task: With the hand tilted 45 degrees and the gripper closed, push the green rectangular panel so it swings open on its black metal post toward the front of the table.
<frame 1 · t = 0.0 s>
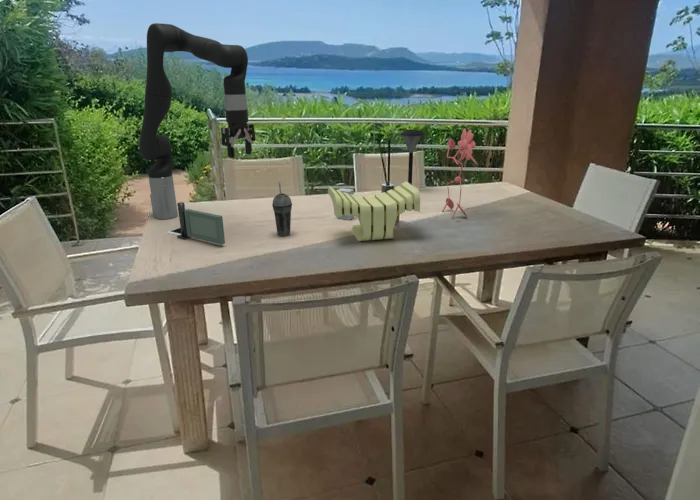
hand: (240, 155, 172), 29 cm above the table, tool pointing down, fingers open, 8 cm apart
gate post: (185, 237, 180), on the table
figurine: (461, 214, 206), on the table
solar garden light: (409, 193, 238), on the table
slatted curved stool: (372, 235, 181), on the table
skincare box: (345, 218, 201), on the table
beverage cup: (283, 234, 183), on the table
green rectangular panel: (204, 226, 173), point 6 cm above the table, hinge at 0.0°
cell phone: (190, 230, 190), on the table
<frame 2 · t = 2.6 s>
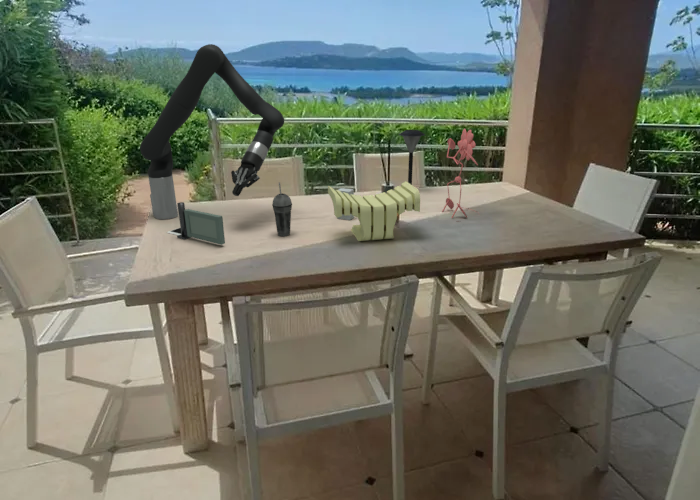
hand: (235, 194, 181), 14 cm above the table, tool tilted 45°, fingers closed
nothing on the table moved.
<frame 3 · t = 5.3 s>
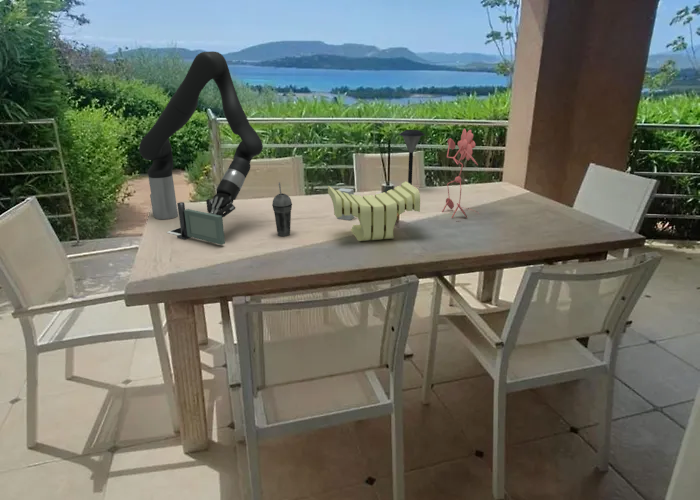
hand: (209, 225, 173), 6 cm above the table, tool tilted 45°, fingers closed
green rectangular panel: (204, 226, 173), point 6 cm above the table, hinge at 0.2°, touching gripper
everything else where it was.
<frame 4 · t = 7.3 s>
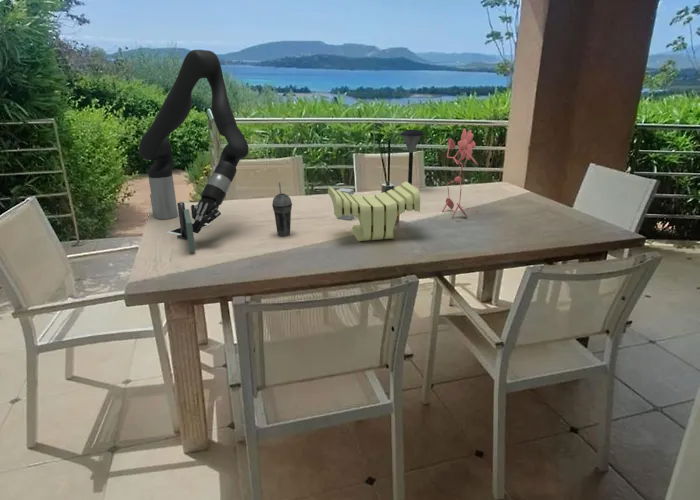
hand: (194, 232, 167), 6 cm above the table, tool tilted 45°, fingers closed
green rectangular panel: (189, 229, 169), point 6 cm above the table, hinge at 37.9°, touching gripper
everything else where it was.
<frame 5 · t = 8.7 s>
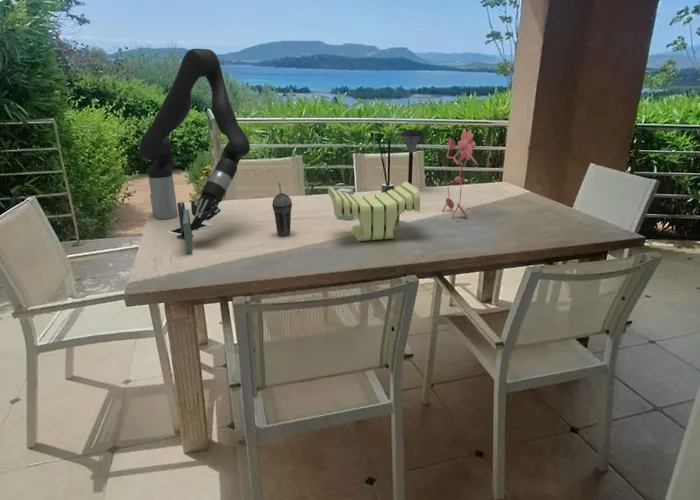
hand: (194, 228, 167), 7 cm above the table, tool tilted 45°, fingers closed
green rectangular panel: (187, 229, 169), point 6 cm above the table, hinge at 41.5°
everything else where it was.
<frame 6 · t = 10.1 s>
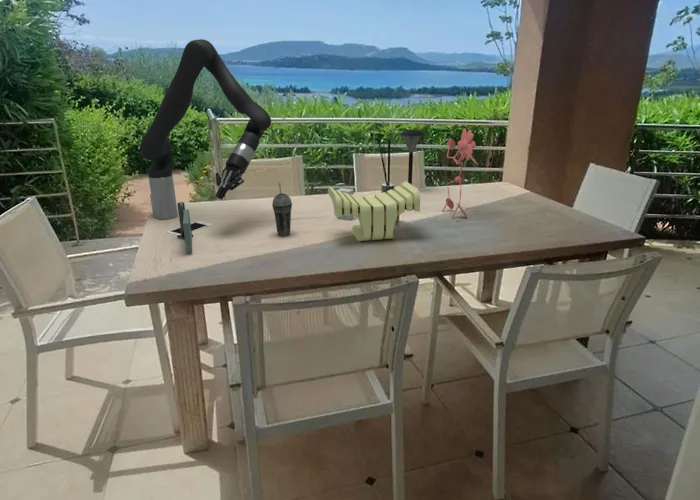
hand: (218, 197, 175), 15 cm above the table, tool tilted 45°, fingers closed
nothing on the table moved.
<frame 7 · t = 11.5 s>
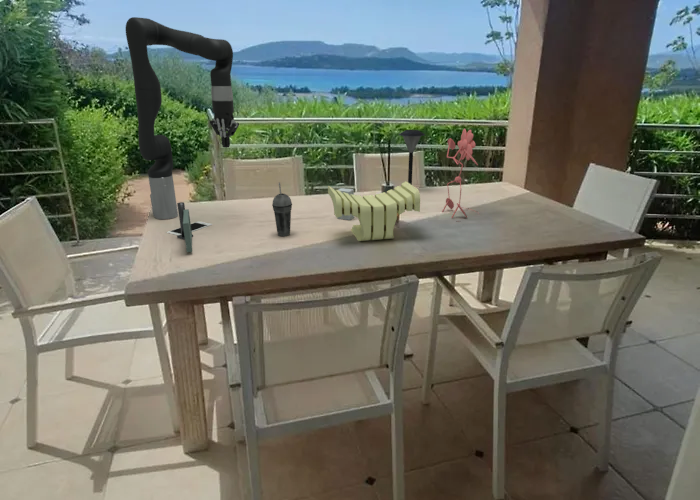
hand: (226, 147, 183), 30 cm above the table, tool pointing down, fingers closed
nothing on the table moved.
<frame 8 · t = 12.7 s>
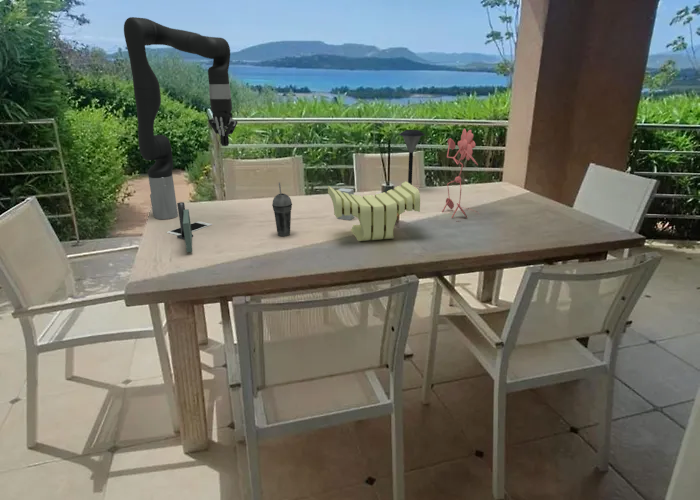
hand: (225, 145, 183), 31 cm above the table, tool pointing down, fingers closed
nothing on the table moved.
at the end: green rectangular panel at +42° (first picture: +0°); beverage cup moved 0.2 cm from its start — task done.
